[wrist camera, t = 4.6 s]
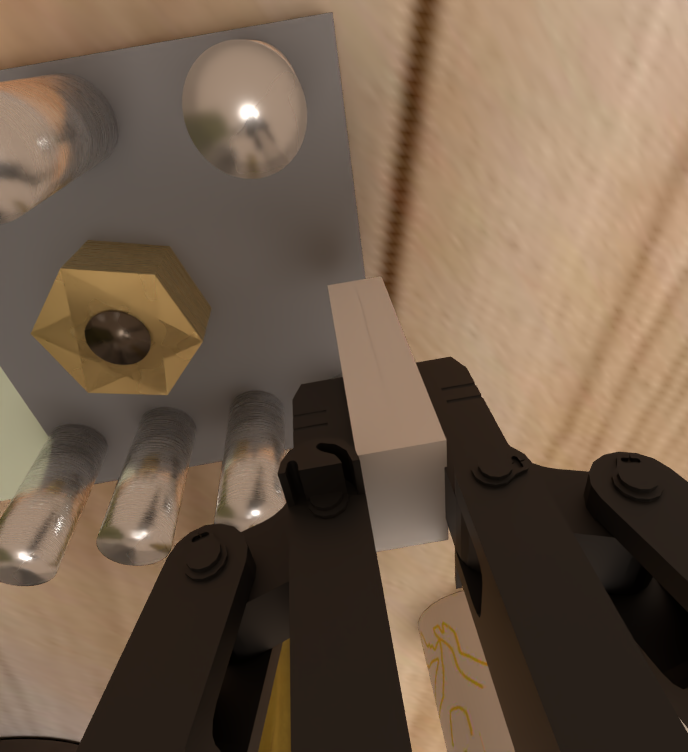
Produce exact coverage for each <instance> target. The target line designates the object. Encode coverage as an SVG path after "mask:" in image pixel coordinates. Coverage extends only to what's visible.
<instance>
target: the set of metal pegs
mask: <svg viewBox="0 0 688 752" xmlns="http://www.w3.org/2000/svg"><path fill="white" fill-rule="evenodd" d="M182 109H183V117H184V121H185V125H186V128H187V130H188V133H189V135H190V137H191V139H192V141H193V143H194V145H195V146H196V148H197V149H198V151H199V152H200V153H201V154H202V155H203V157H204V158H205V159H206V160H207V161H209V162H210V163H211V164H212V165H213V166H215V167H216V168H218V169H219V170H221V171H223V172H225V173H227V174H229V175H232V176H235V177H239V178H245V179H257V178H263V177H267V176H270V175H272V174H275V173H276V172H278V171H280V170H281V169H283V168H284V167H285V166H287V165H288V164H289V163H290V162H291V160H292V159H293V158H294V157H295V155H296V154H297V152H298V151H299V149H300V147H301V145H302V142H303V139H304V136H305V132H306V126H307V107H306V101H305V96H304V93H303V90H302V87H301V84H300V82H299V80H298V78H297V76H296V74H295V72H294V70H293V67H292V65H291V64H290V62H289V60H288V59H287V58H286V56H285V55H284V54H283V53H282V52H281V51H280V50H279V49H277V48H276V47H274V46H273V45H271V44H269V43H266V42H264V41H259V40H240V39H236V40H228V41H224V42H220V43H218V44H216V45H213V46H212V47H210V48H208V49H207V50H205V51H204V52H203V53H202V54H201V55H200V56H199V57H198V58H197V59H196V61H195V62H194V63H193V65H192V67H191V68H190V70H189V72H188V75H187V77H186V80H185V84H184V87H183V95H182ZM117 140H118V123H117V118H116V115H115V113H114V110H113V108H112V106H111V105H110V103H109V101H108V100H107V99H106V97H105V96H104V95H103V94H102V93H101V91H99V90H98V89H97V88H96V87H95V86H94V85H92V84H91V83H90V82H88V81H86V80H85V79H82V78H80V77H78V76H75V75H71V74H62V73H61V74H52V75H45V76H38V77H32V78H25V79H18V80H11V81H4V82H0V224H3V223H7V222H10V221H13V220H15V219H17V218H19V217H20V216H22V215H23V214H25V213H26V212H28V211H29V210H31V209H32V208H34V207H35V206H37V205H38V204H39V203H41V202H42V201H44V200H45V199H47V198H48V197H50V196H51V195H53V194H54V193H56V192H57V191H59V190H60V189H62V188H63V187H65V186H66V185H68V184H69V183H71V182H72V181H74V180H75V179H77V178H78V177H79V176H81V175H82V174H84V173H85V172H87V171H88V170H90V169H91V168H93V167H94V166H96V165H97V164H99V163H100V162H102V161H103V160H105V159H106V158H107V157H108V156H110V154H111V153H112V152H113V150H114V149H115V147H116V144H117ZM340 377H343V375H338V376H335V377H333V378H331V379H334V378H340ZM195 435H196V425H195V423H194V421H193V420H192V418H191V417H190V416H189V415H188V414H186V413H185V412H183V411H181V410H178V409H175V408H170V407H160V408H155V409H152V410H150V411H148V412H147V413H145V414H144V415H143V417H142V418H141V420H140V423H139V425H138V428H137V431H136V434H135V436H134V439H133V442H132V444H131V447H130V450H129V453H128V455H127V458H126V461H125V463H124V466H123V469H122V472H121V474H120V477H119V480H118V482H117V485H116V488H115V491H114V493H113V496H112V499H111V501H110V504H109V507H108V510H107V512H106V515H105V518H104V520H103V523H102V526H101V529H100V531H99V534H98V537H97V547H98V549H99V550H100V552H101V553H102V554H103V555H104V556H106V557H107V558H109V559H110V560H112V561H115V562H118V563H121V564H125V565H133V566H142V565H149V564H153V563H156V562H158V561H161V560H162V559H164V558H165V557H166V556H167V555H168V554H169V552H170V550H171V547H172V542H173V537H174V533H175V528H176V523H177V519H178V514H179V509H180V505H181V500H182V495H183V491H184V486H185V481H186V477H187V472H188V467H189V463H190V458H191V454H192V449H193V444H194V440H195ZM107 451H108V444H107V441H106V439H105V438H104V437H103V436H102V434H100V433H99V432H98V431H96V430H95V429H93V428H91V427H88V426H85V425H81V424H65V425H61V426H59V427H57V428H55V429H54V430H53V431H52V432H51V434H50V435H49V437H48V439H47V440H46V442H45V444H44V446H43V447H42V449H41V451H40V452H39V454H38V456H37V458H36V459H35V461H34V463H33V464H32V466H31V468H30V469H29V471H28V473H27V475H26V476H25V478H24V480H23V481H22V483H21V485H20V487H19V488H18V490H17V492H16V493H15V495H14V497H13V499H12V500H11V502H10V504H9V505H8V507H7V509H6V511H5V512H4V514H3V516H2V517H1V519H0V582H2V583H6V584H10V585H16V586H34V585H39V584H43V583H45V582H48V581H49V580H51V579H52V578H53V577H54V576H55V575H56V573H57V571H58V568H59V566H60V563H61V561H62V559H63V556H64V554H65V552H66V549H67V547H68V544H69V542H70V540H71V537H72V535H73V533H74V530H75V528H76V525H77V523H78V521H79V518H80V516H81V513H82V511H83V509H84V506H85V504H86V502H87V499H88V497H89V494H90V492H91V490H92V487H93V485H94V483H95V480H96V478H97V475H98V473H99V471H100V468H101V466H102V464H103V461H104V459H105V456H106V454H107ZM284 457H285V414H284V406H283V404H282V402H281V401H280V400H279V399H278V398H277V397H276V396H274V395H273V394H271V393H268V392H265V391H249V392H245V393H243V394H241V395H239V396H238V397H236V398H235V399H234V400H233V402H232V403H231V406H230V410H229V418H228V425H227V432H226V439H225V447H224V454H223V461H222V469H221V476H220V483H219V490H218V498H217V505H216V512H215V520H214V524H220V523H221V524H225V525H230V526H234V527H235V528H236V529H237V530H239V531H240V532H242V531H244V530H247V529H249V528H251V527H253V526H255V525H257V524H259V523H261V522H263V521H265V520H267V519H268V518H270V517H272V516H274V515H275V514H276V513H277V512H278V511H279V510H280V509H282V508H283V506H284V505H285V504H286V499H285V496H284V493H283V490H282V487H281V484H280V481H279V477H278V470H279V466H280V462H281V461H282V460H283V458H284Z"/></svg>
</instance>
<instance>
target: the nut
mask: <svg viewBox="0 0 688 752" xmlns="http://www.w3.org/2000/svg"><path fill="white" fill-rule="evenodd" d="M210 312H211V306H210V305H209V304H208V302H207V301H206V299H205V298H204V296H203V295H202V293H201V292H200V290H199V289H198V287H197V286H196V284H195V283H194V281H193V280H192V278H191V277H190V275H189V274H188V272H187V271H186V269H185V268H184V266H183V265H182V264H181V262H180V261H179V259H178V258H177V256H176V255H175V253H174V252H173V250H172V249H171V247H170V246H161V245H148V244H135V243H122V242H109V241H95V240H87V241H86V242H85V243H84V244H83V245H82V246H81V248H80V249H79V250H78V251H77V252H76V253H75V254H74V255H73V256H72V257H71V258H70V259H69V260H68V261H67V262H66V263H65V264H64V265H63V266H62V267H61V268H60V270H59V272H58V275H57V277H56V279H55V281H54V283H53V286H52V288H51V290H50V292H49V294H48V297H47V299H46V301H45V303H44V305H43V308H42V310H41V312H40V314H39V316H38V319H37V321H36V323H35V325H34V327H33V330H32V332H31V335H32V336H33V337H34V338H35V339H36V340H37V341H38V342H39V343H40V344H41V345H42V346H43V347H44V348H45V349H46V350H47V351H48V352H49V353H50V354H51V355H52V356H53V357H54V358H55V359H56V360H57V361H58V362H59V363H60V365H61V366H62V367H63V368H64V369H65V370H66V371H67V372H68V373H69V374H70V375H71V376H72V377H73V378H74V379H75V380H76V381H77V382H78V383H79V384H80V385H81V386H82V387H83V388H84V389H85V390H86V391H87V392H88V393H109V394H143V395H168V394H169V392H170V391H171V389H172V388H173V386H174V385H175V383H176V382H177V380H178V379H179V377H180V375H181V374H182V372H183V371H184V369H185V368H186V366H187V365H188V363H189V362H190V360H191V359H192V357H193V356H194V354H195V353H196V351H197V350H198V348H199V347H200V345H201V344H202V342H203V339H204V335H205V331H206V328H207V324H208V320H209V316H210Z"/></svg>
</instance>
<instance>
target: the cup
mask: <svg viewBox="0 0 688 752" xmlns="http://www.w3.org/2000/svg"><path fill="white" fill-rule="evenodd" d="M418 629H419V633H420V637H421V642H422V646H423V650H424V654H425V659H426V663H427V667H428V671H429V676H430V680H431V684H432V688H433V693H434V697H435V701H436V705H437V710H438V714H439V718H440V722H441V727H442V731H443V735H444V739H445V743H446V748H447V752H515V750H514V747H513V743H512V740H511V737H510V734H509V731H508V728H507V725H506V721H505V718H504V715H503V712H502V709H501V706H500V703H499V700H498V696H497V693H496V690H495V687H494V684H493V681H492V678H491V674H490V671H489V668H488V665H487V662H486V659H485V656H484V652H483V649H482V646H481V643H480V640H479V637H478V634H477V630H476V627H475V624H474V621H473V618H472V615H471V612H470V608H469V605H468V602H467V599H466V596H465V593H464V591H461V592H457V593H454V594H451V595H449V596H446V597H444V598H442V599H440V600H439V601H437V602H435V603H434V604H432V605H431V606H430V607H429V608H427V609H426V610H425V611H424V613H423V614H422V615H421V617H420V619H419V622H418Z"/></svg>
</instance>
